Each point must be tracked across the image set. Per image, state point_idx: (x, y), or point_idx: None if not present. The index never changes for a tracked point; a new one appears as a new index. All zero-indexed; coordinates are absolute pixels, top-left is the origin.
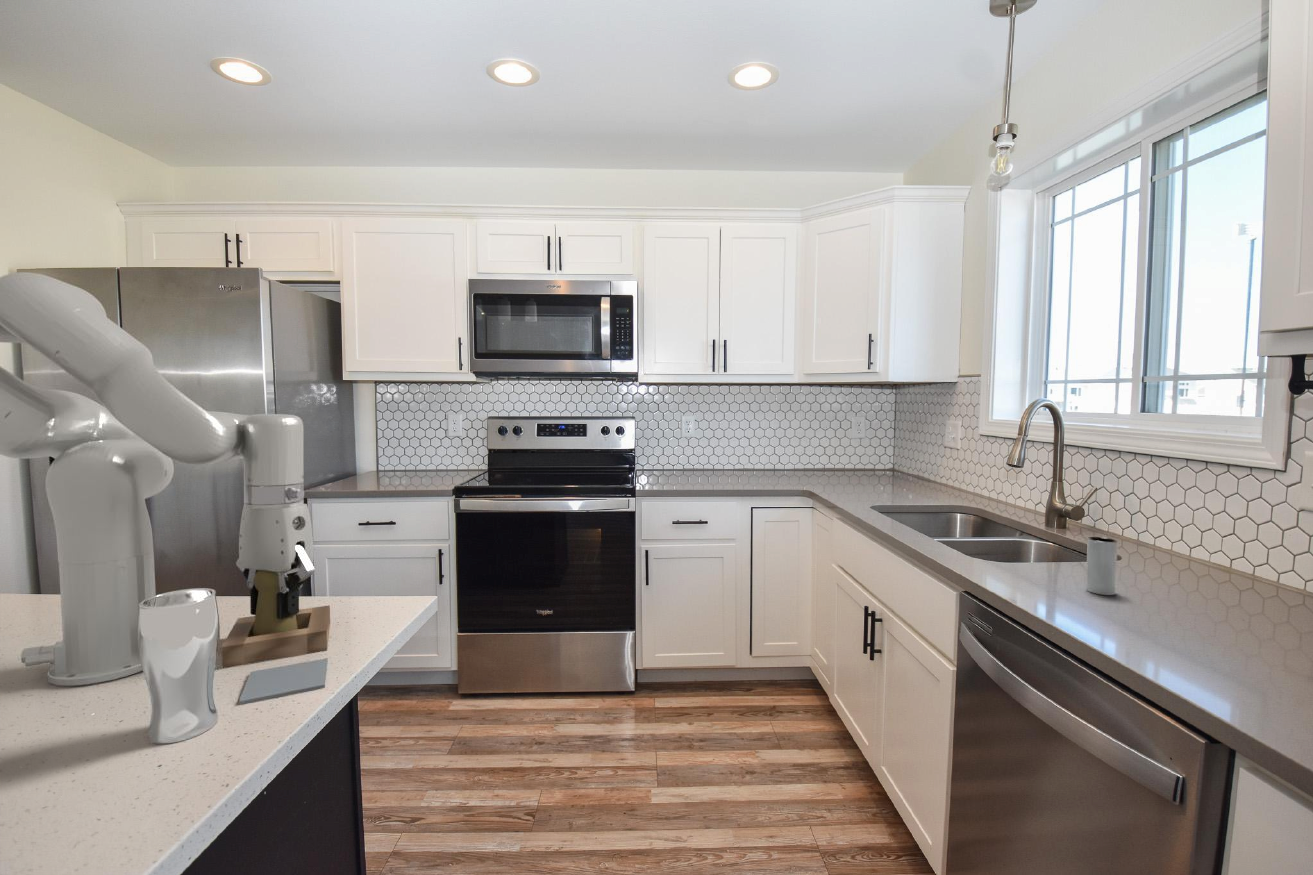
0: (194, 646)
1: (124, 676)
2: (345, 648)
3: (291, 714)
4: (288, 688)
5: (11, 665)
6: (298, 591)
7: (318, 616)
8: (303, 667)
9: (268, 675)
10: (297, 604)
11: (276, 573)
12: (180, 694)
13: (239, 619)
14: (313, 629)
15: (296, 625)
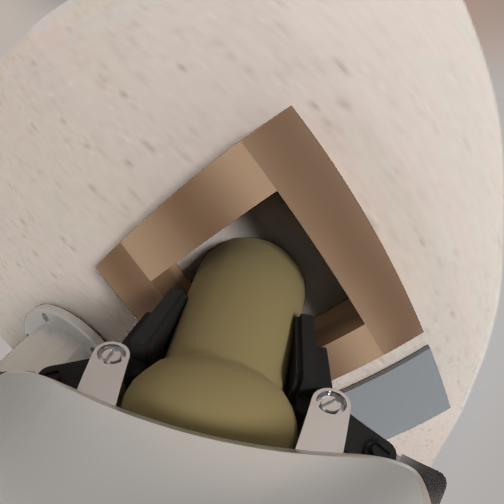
0: None
1: None
2: (440, 288)
3: (429, 441)
4: (408, 424)
5: (4, 340)
6: (318, 369)
7: (336, 230)
8: (402, 382)
9: (358, 409)
10: (327, 356)
11: None
12: None
13: (107, 275)
14: (386, 330)
15: (296, 283)
